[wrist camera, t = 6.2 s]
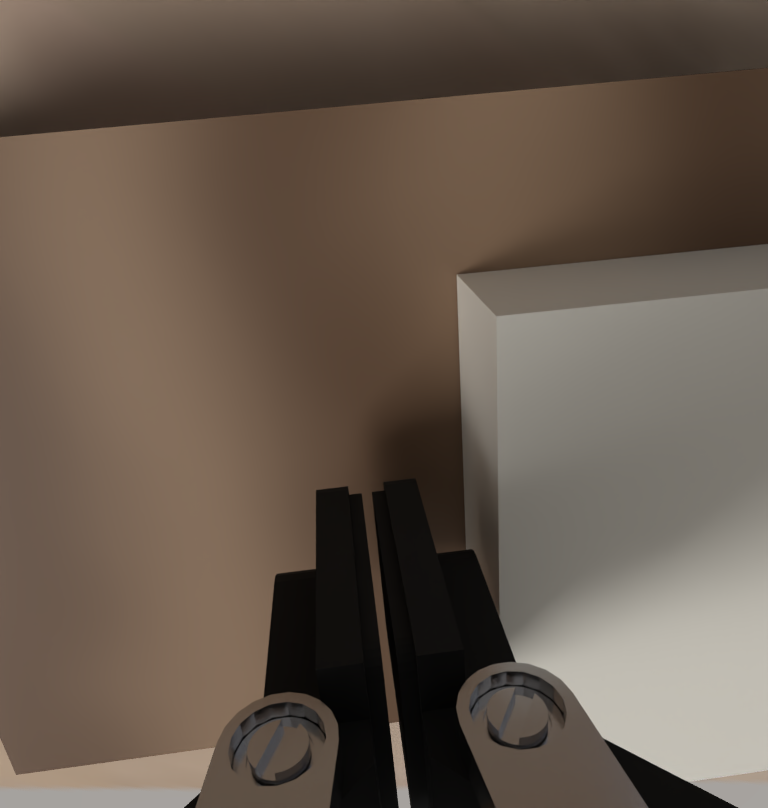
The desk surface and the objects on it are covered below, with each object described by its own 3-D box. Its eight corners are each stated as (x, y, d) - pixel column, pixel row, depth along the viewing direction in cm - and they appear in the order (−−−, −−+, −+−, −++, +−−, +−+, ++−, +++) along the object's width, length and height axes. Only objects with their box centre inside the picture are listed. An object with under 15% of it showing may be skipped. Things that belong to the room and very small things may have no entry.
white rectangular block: (818, 238, 11) (954, 269, 9) (743, 660, 14) (825, 761, 12) (456, 274, 10) (495, 315, 8) (471, 697, 14) (501, 808, 12)
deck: (722, 77, 14) (873, 58, 10) (671, 561, 18) (761, 671, 15) (-86, 150, 13) (-250, 159, 9) (80, 637, 17) (16, 775, 14)
